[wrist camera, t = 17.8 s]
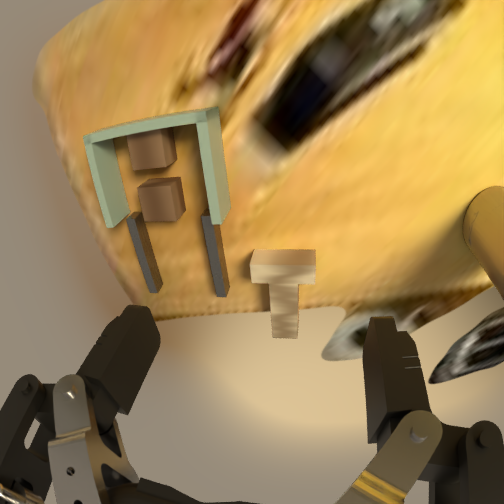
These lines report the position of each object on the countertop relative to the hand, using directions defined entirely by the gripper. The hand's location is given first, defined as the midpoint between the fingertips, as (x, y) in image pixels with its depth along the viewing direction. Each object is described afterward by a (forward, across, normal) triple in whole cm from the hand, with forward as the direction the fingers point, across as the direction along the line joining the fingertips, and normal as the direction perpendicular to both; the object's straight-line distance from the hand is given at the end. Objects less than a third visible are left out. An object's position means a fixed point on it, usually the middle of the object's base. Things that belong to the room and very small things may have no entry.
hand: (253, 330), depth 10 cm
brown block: (+22, +14, -3) cm, 26 cm away
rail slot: (+22, +14, +10) cm, 28 cm away
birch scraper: (+21, +1, +10) cm, 23 cm away
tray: (+22, +14, 0) cm, 26 cm away
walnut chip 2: (+22, +14, +3) cm, 26 cm away
